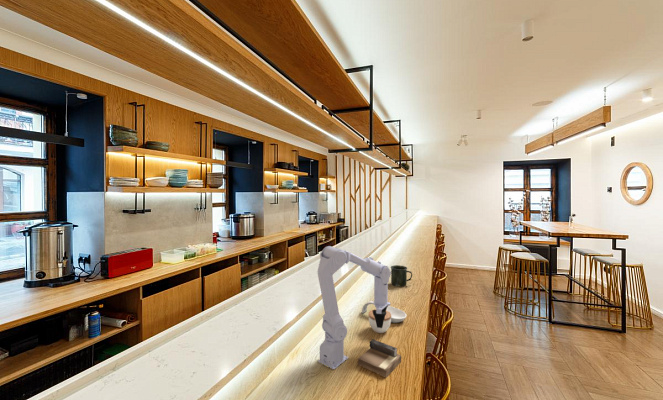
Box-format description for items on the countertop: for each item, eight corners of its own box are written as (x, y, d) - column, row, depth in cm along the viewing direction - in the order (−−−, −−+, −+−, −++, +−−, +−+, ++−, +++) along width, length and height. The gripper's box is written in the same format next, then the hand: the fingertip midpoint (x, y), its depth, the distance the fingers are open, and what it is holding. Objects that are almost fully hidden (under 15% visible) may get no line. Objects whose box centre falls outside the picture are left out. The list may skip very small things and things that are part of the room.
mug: (391, 281, 207) (391, 264, 207) (412, 283, 203) (412, 266, 202) (389, 286, 197) (389, 268, 196) (411, 288, 192) (412, 270, 192)
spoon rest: (409, 318, 149) (409, 305, 148) (401, 328, 139) (402, 313, 138) (367, 308, 161) (367, 295, 161) (358, 316, 152) (358, 303, 151)
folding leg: (397, 354, 112) (397, 348, 111) (394, 357, 110) (394, 351, 110) (372, 344, 119) (372, 338, 119) (369, 347, 117) (369, 341, 117)
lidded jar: (373, 337, 130) (373, 316, 130) (364, 326, 141) (364, 307, 140) (395, 333, 133) (395, 313, 133) (385, 323, 143) (385, 304, 143)
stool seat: (386, 377, 102) (386, 370, 102) (357, 364, 110) (357, 358, 110) (401, 361, 112) (401, 355, 112) (374, 350, 119) (374, 344, 119)
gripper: (388, 299, 116) (388, 332, 116) (391, 287, 130) (391, 317, 130) (371, 297, 118) (371, 330, 118) (376, 286, 132) (375, 315, 132)
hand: (380, 323), depth 124 cm, fingers open, 7 cm apart
